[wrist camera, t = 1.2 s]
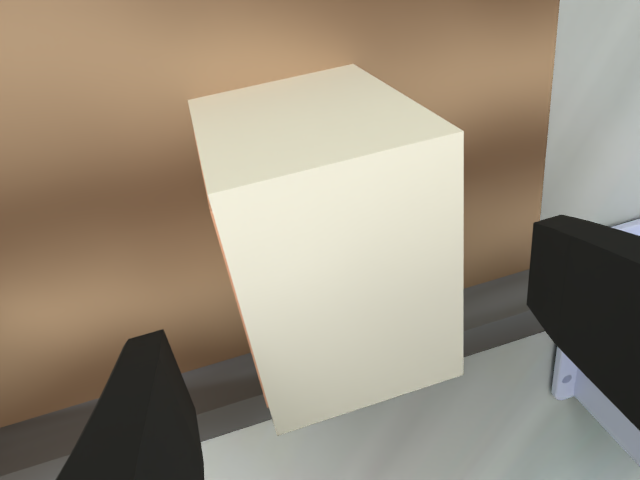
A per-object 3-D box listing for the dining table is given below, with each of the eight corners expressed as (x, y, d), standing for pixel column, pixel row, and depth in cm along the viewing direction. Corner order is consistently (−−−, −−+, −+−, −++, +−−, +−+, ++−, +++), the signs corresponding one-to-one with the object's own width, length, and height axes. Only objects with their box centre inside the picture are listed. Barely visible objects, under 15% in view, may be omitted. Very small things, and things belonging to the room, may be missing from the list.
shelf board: (511, 274, 22) (567, 326, 19) (-149, 472, 18) (-209, 577, 15) (536, -144, 14) (635, -166, 11) (-587, 39, 10) (-880, 77, 7)
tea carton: (238, 286, 17) (274, 436, 11) (185, 100, 13) (204, 195, 8) (373, 248, 17) (463, 374, 12) (353, 63, 14) (463, 130, 9)
